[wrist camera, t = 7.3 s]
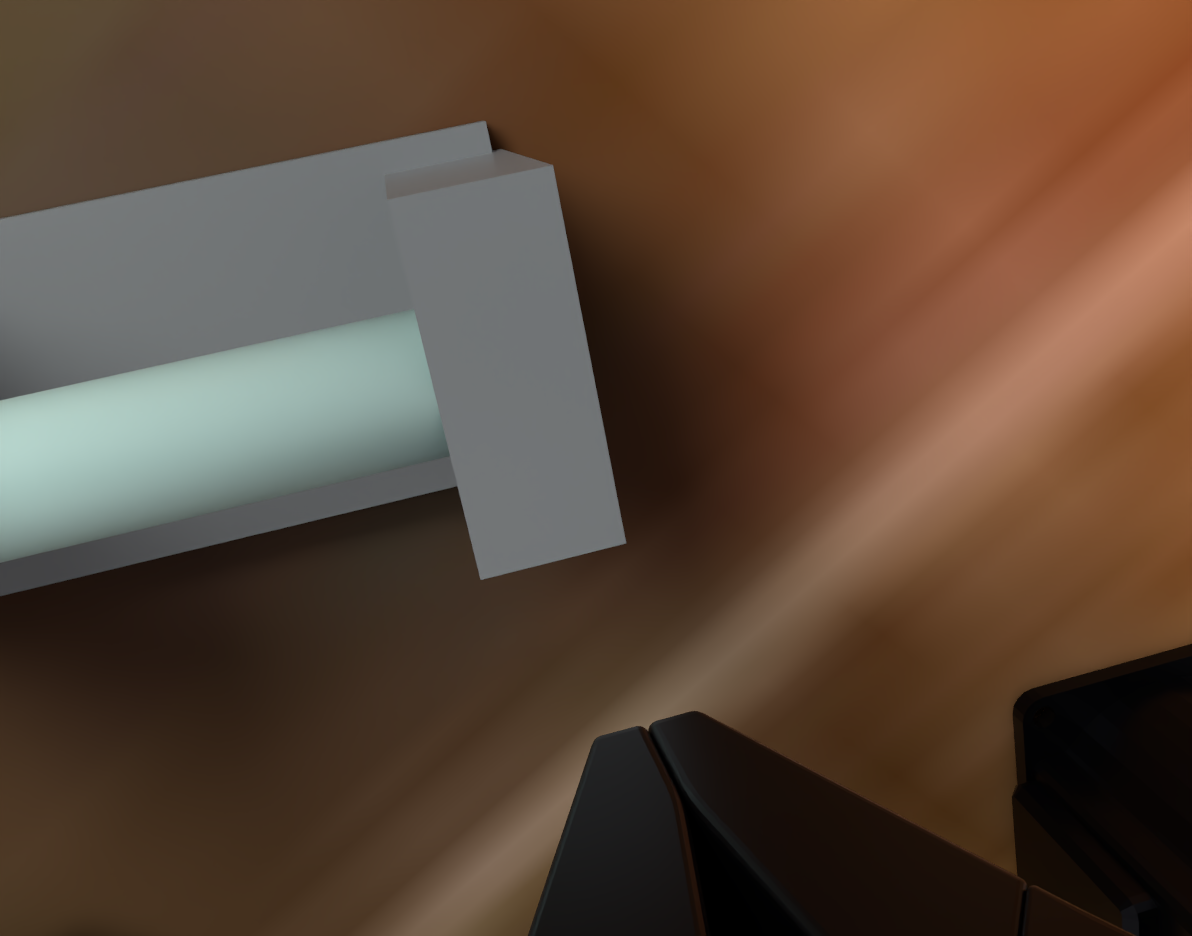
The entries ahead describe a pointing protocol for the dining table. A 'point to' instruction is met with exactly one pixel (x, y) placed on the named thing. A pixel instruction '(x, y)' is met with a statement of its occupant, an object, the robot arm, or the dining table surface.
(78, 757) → the dining table surface
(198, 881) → the dining table surface
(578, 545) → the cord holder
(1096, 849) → the robot arm
